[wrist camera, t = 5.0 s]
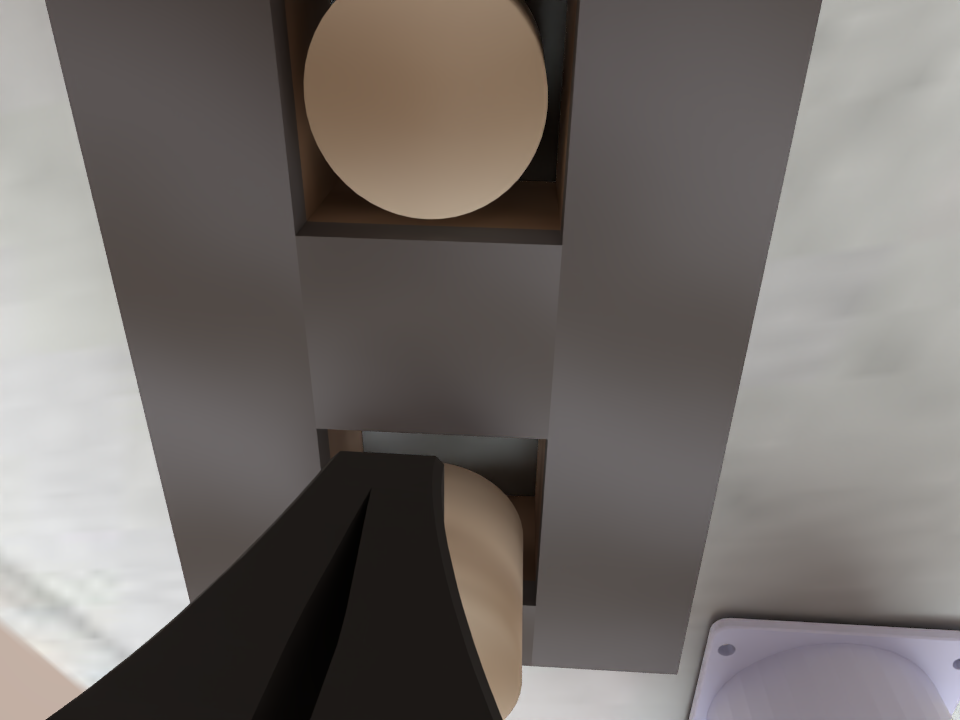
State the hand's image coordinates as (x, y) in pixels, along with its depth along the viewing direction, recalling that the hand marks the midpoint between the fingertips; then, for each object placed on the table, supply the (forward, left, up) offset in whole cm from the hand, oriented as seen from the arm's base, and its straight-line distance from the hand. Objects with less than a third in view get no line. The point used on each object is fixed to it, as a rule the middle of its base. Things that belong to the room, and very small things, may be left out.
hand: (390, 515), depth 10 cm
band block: (0, 0, -9) cm, 9 cm away
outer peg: (+4, 0, -9) cm, 10 cm away
